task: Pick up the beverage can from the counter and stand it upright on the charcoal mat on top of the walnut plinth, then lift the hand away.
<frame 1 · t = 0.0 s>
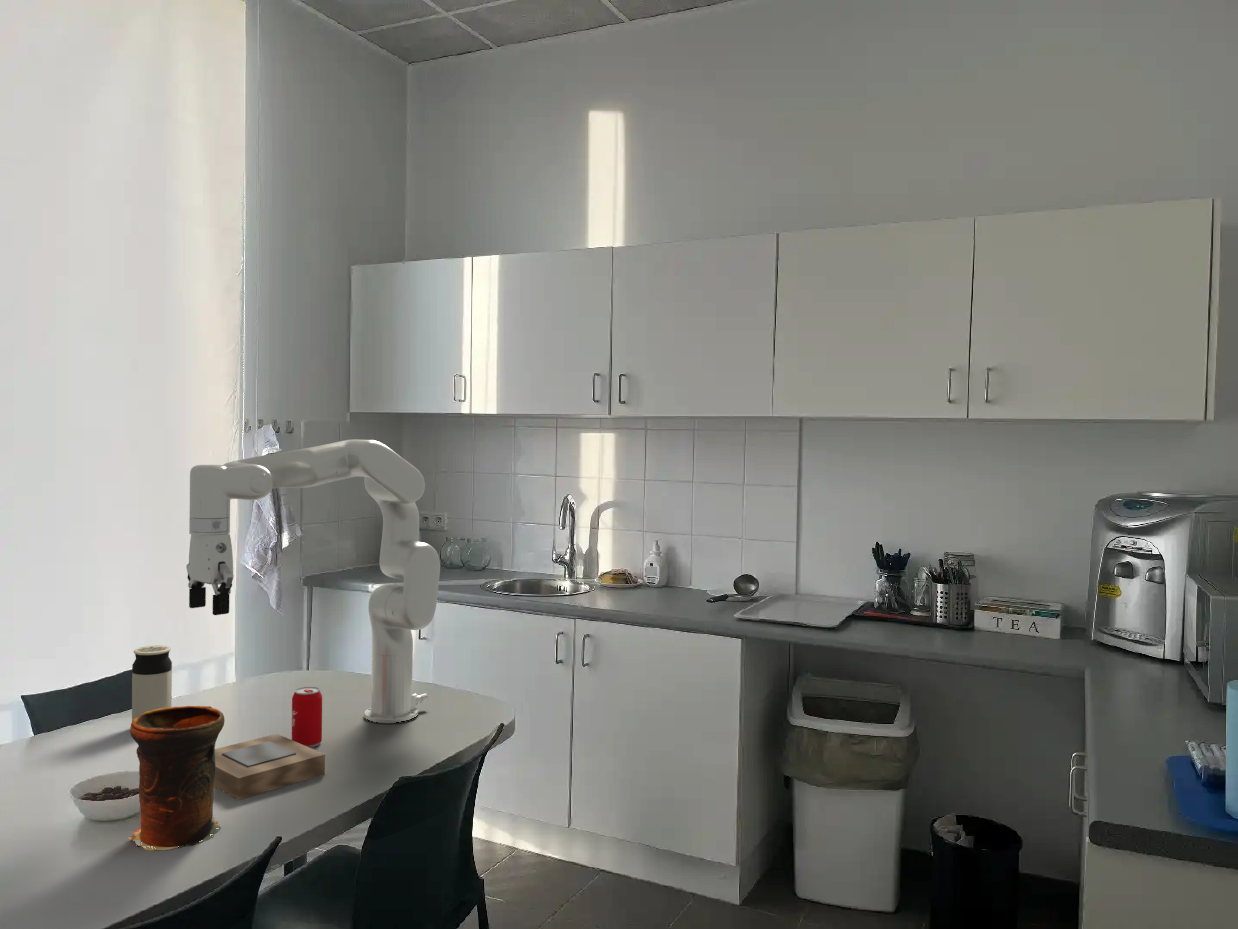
hand: (208, 610, 191), 31 cm above the table, tool pointing down, fingers open, 9 cm apart
walnut plinth: (258, 774, 187), on the table
vessel: (177, 834, 160), on the table
beverage can: (306, 745, 205), on the table
travel mug: (151, 729, 213), on the table
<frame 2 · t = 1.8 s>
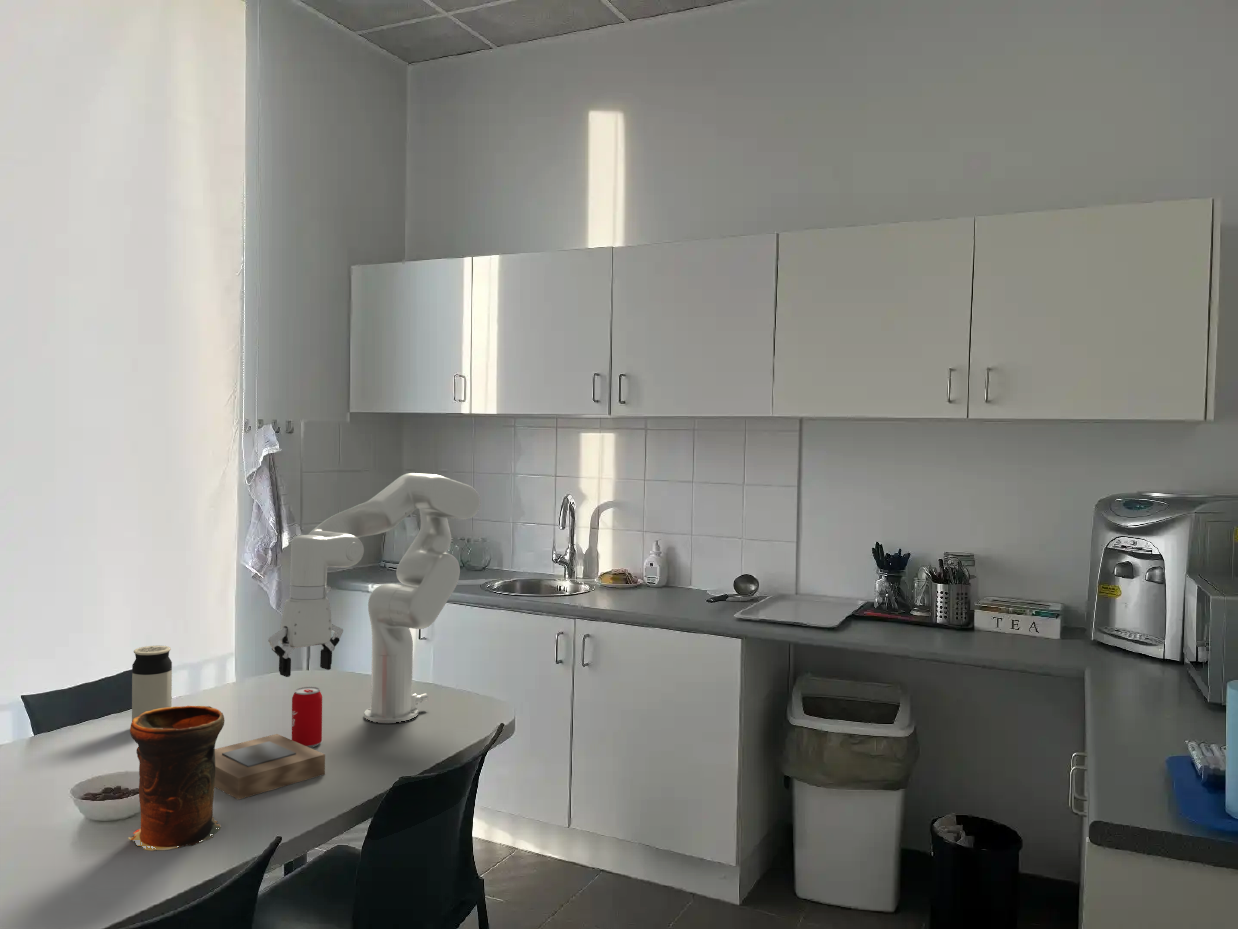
hand: (305, 672, 204), 16 cm above the table, tool pointing down, fingers open, 9 cm apart
nothing on the table moved.
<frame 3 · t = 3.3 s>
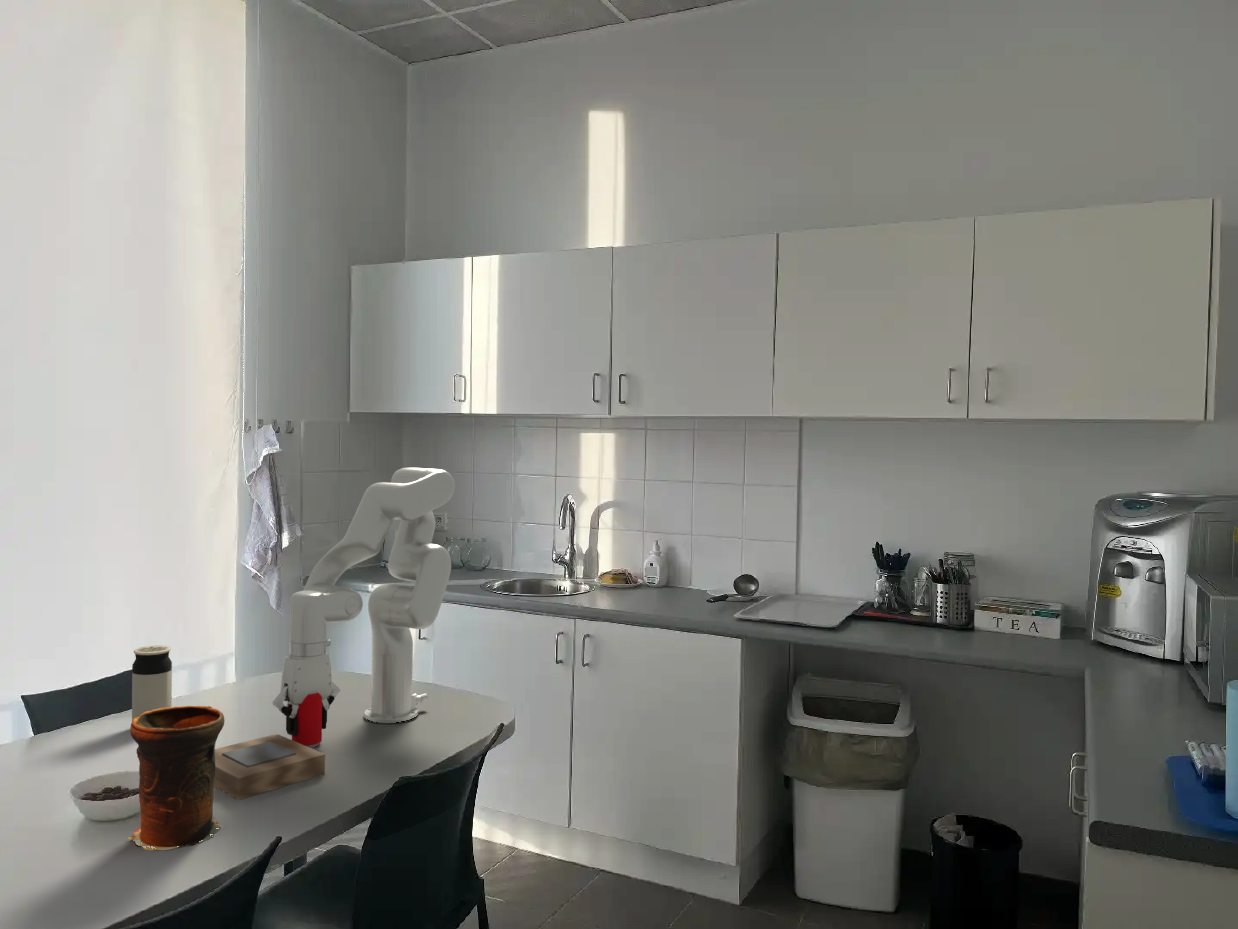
hand: (306, 730, 205), 3 cm above the table, tool pointing down, fingers closed on beverage can, 6 cm apart
beverage can: (306, 745, 205), on the table, touching gripper
everything else where it was.
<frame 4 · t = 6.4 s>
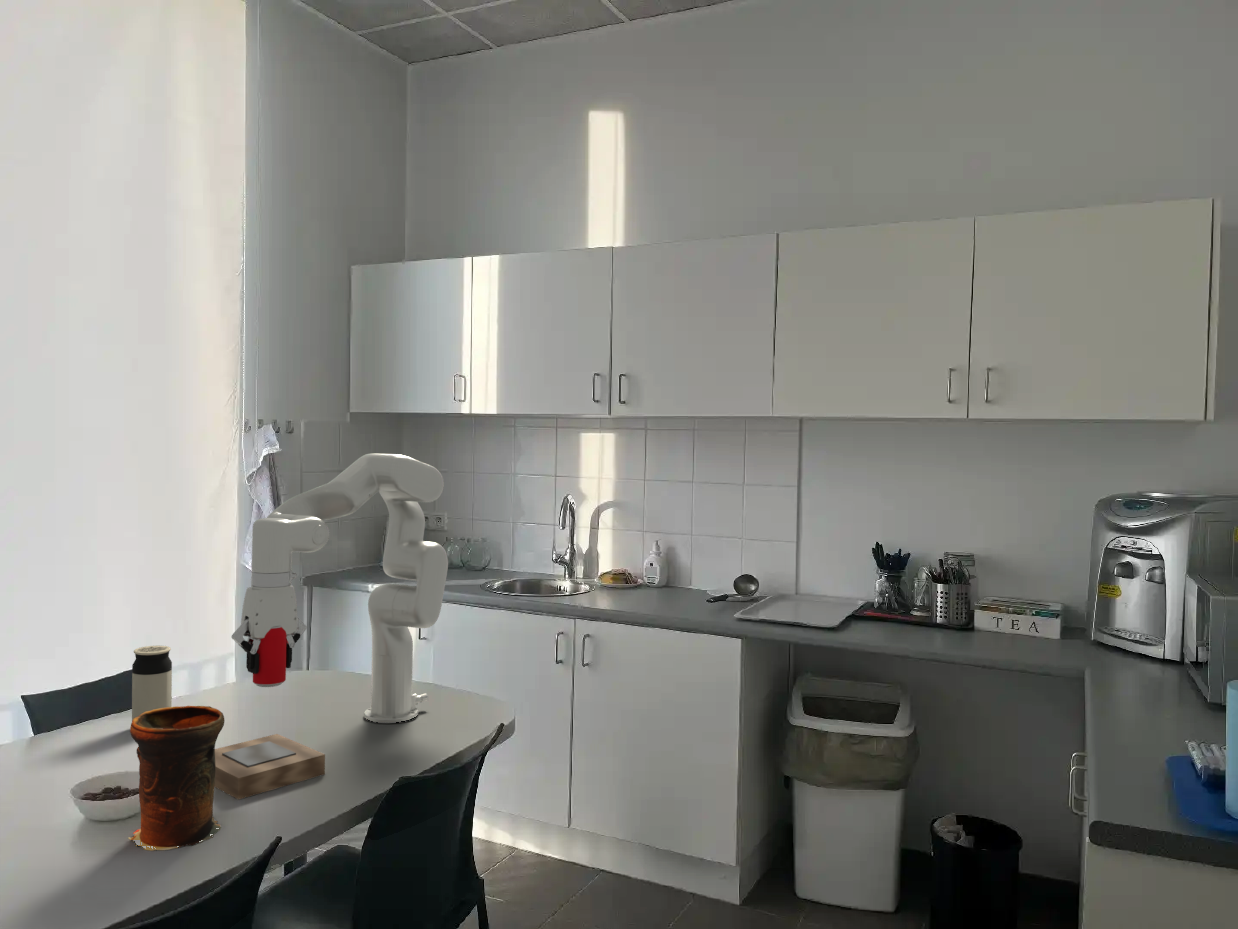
hand: (269, 669, 190), 20 cm above the table, tool pointing down, fingers closed on beverage can, 6 cm apart
beverage can: (269, 685, 190), point 17 cm above the table, touching gripper
everything else where it was.
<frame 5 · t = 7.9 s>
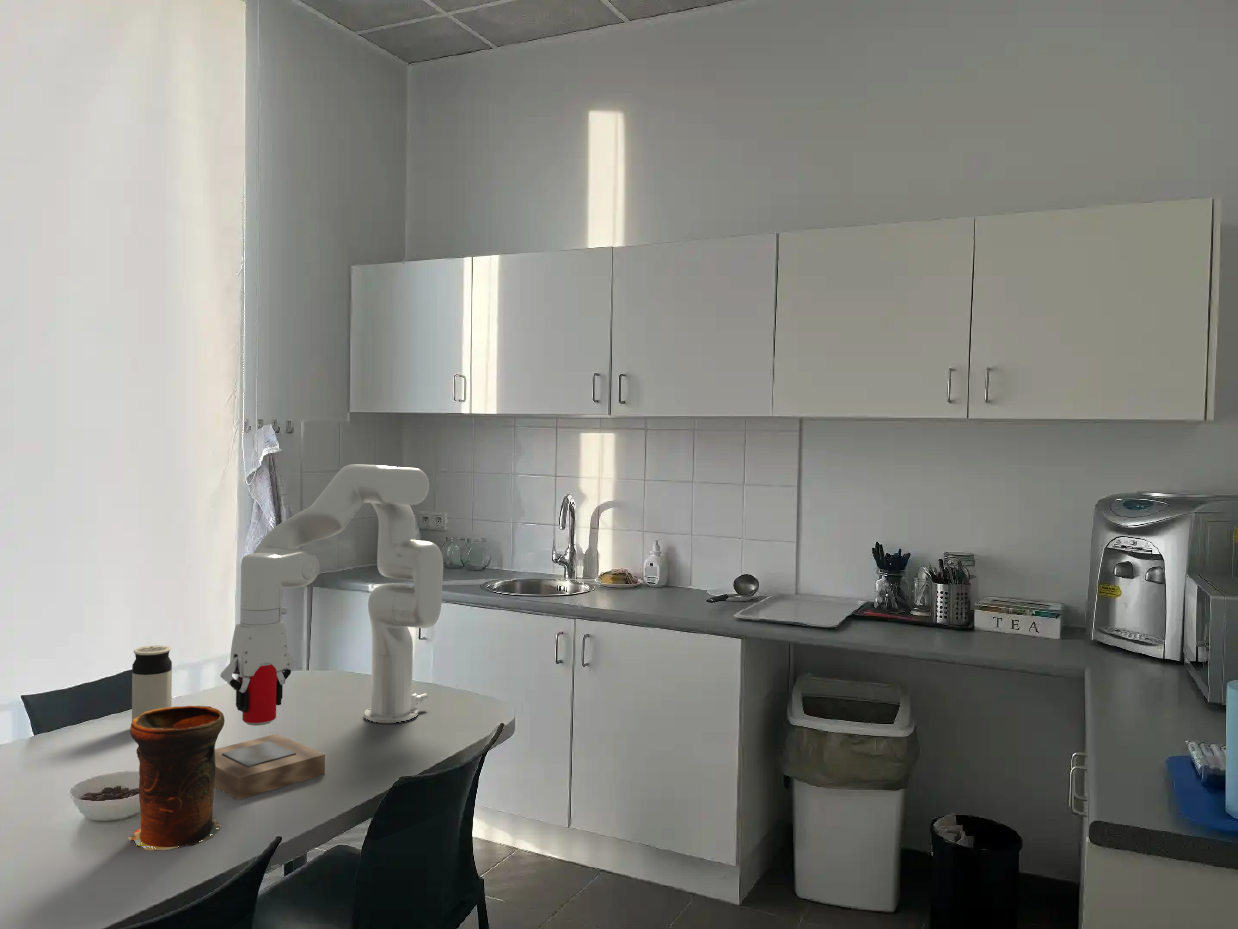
hand: (259, 706, 186), 14 cm above the table, tool pointing down, fingers closed on beverage can, 6 cm apart
beverage can: (259, 723, 187), point 10 cm above the table, touching gripper
everything else where it was.
when the fingers open (8 cm above the table, at t = 9.3 s): beverage can stays where it is, resting on walnut plinth.
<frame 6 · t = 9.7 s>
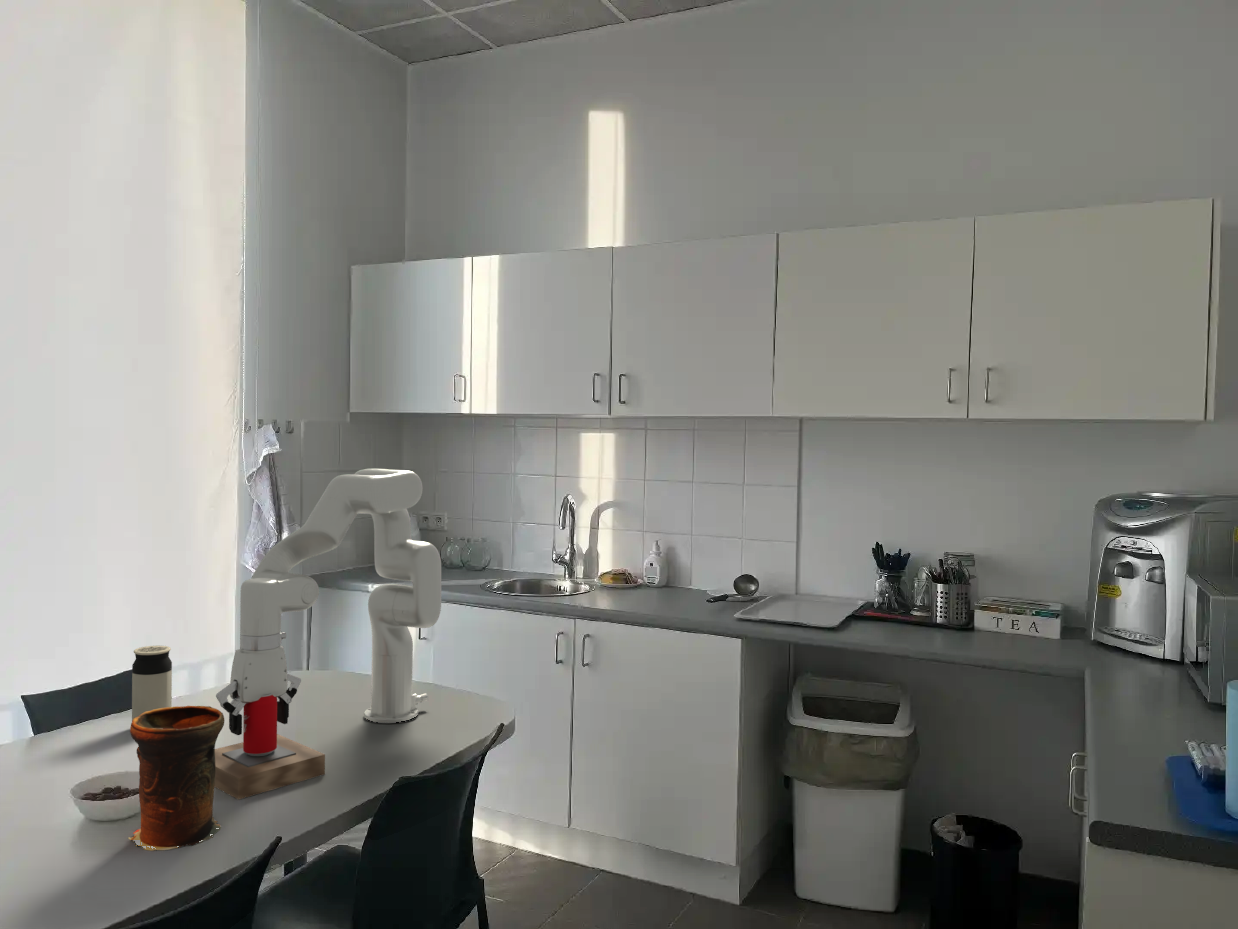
hand: (259, 728, 187), 9 cm above the table, tool pointing down, fingers open, 9 cm apart
beverage can: (259, 753, 187), point 4 cm above the table, touching walnut plinth
everything else where it was.
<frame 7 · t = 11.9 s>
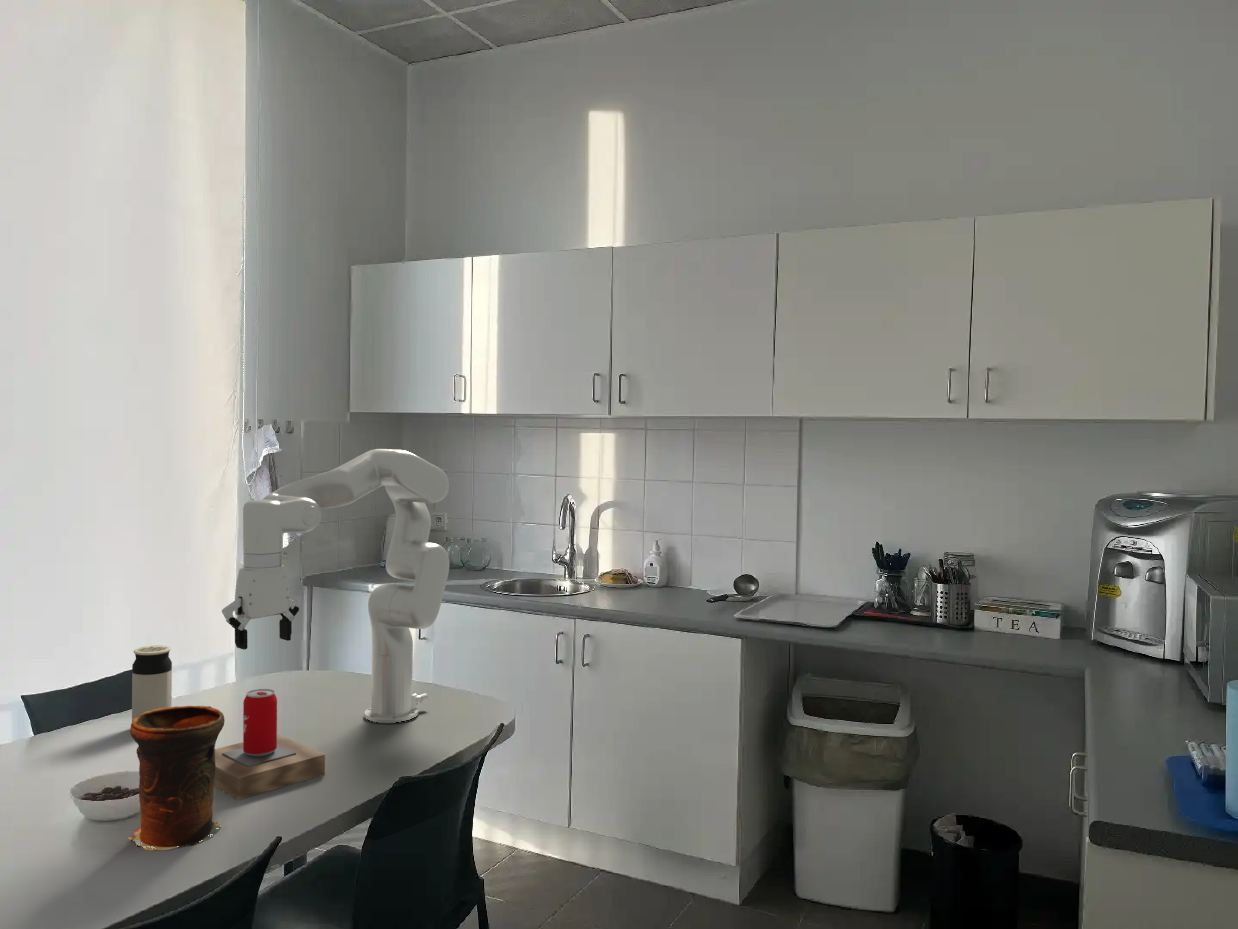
hand: (263, 643, 194), 24 cm above the table, tool pointing down, fingers open, 9 cm apart
nothing on the table moved.
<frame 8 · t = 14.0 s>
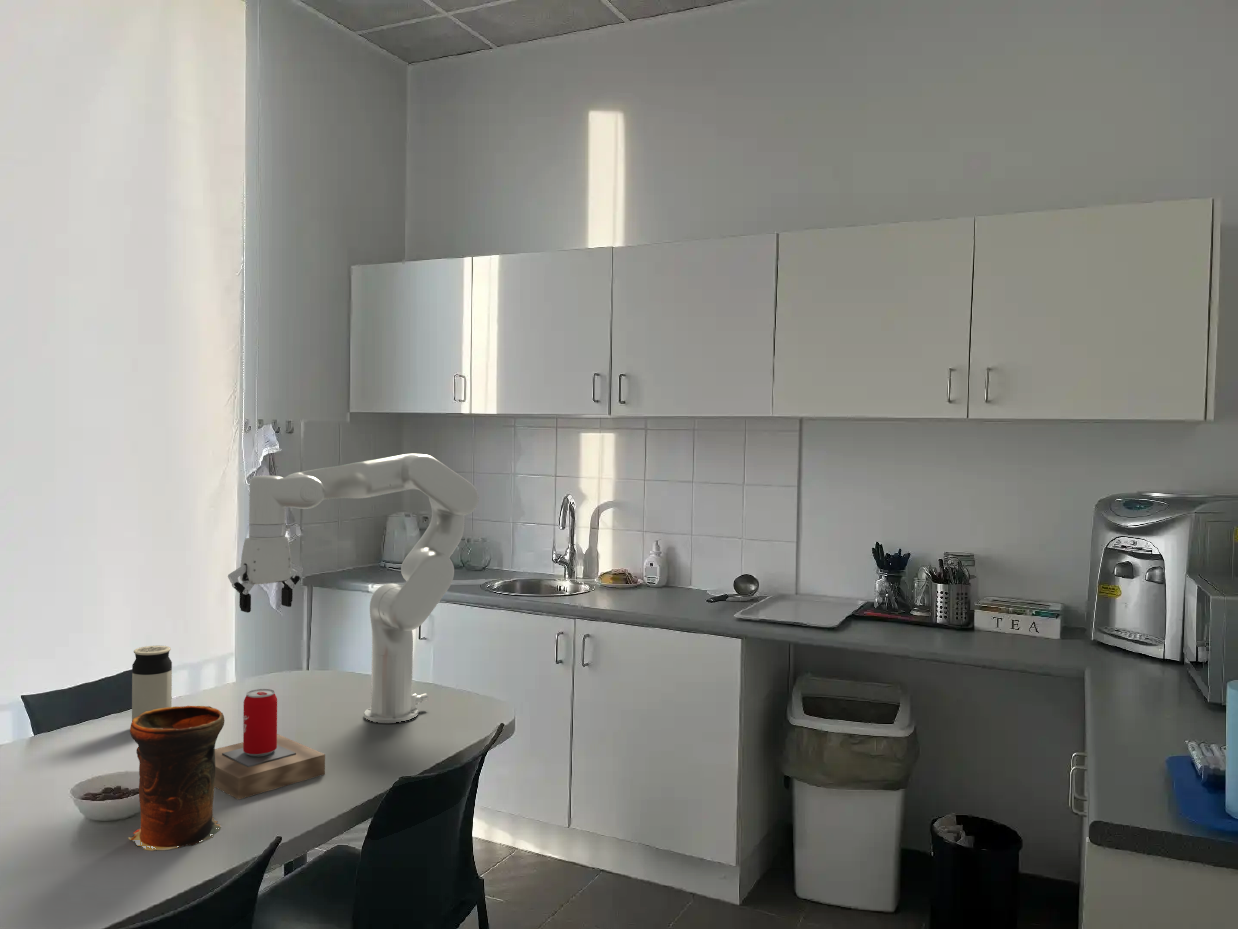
hand: (266, 608, 210), 28 cm above the table, tool pointing down, fingers open, 9 cm apart
nothing on the table moved.
at the end: beverage can inside the target area on the walnut plinth (0.2 cm from its centre), point 4.1 cm above the walnut plinth's base; beverage can tilted 0°; the gripper is holding nothing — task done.
